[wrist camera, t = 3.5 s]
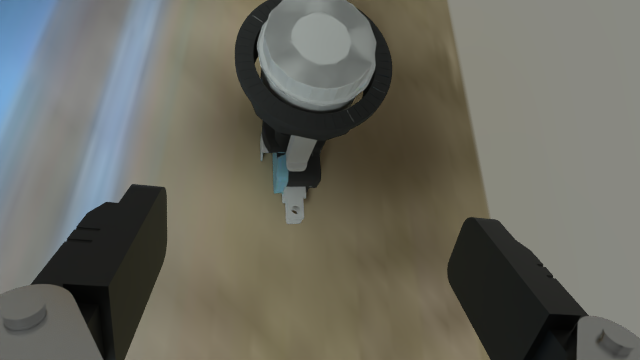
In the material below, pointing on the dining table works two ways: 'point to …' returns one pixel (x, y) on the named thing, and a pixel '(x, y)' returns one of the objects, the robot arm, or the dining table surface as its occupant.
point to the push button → (309, 83)
